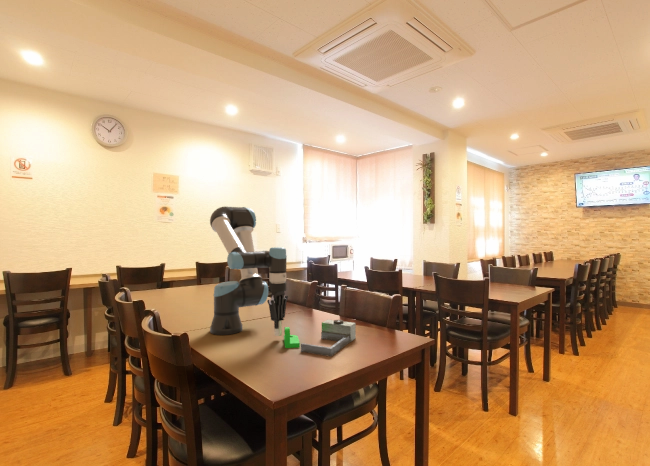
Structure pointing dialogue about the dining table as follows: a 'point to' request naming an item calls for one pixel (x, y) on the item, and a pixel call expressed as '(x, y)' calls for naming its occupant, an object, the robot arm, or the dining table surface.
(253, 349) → the dining table surface
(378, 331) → the dining table surface
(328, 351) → the knobbed latch bracket
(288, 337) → the mechanical part
